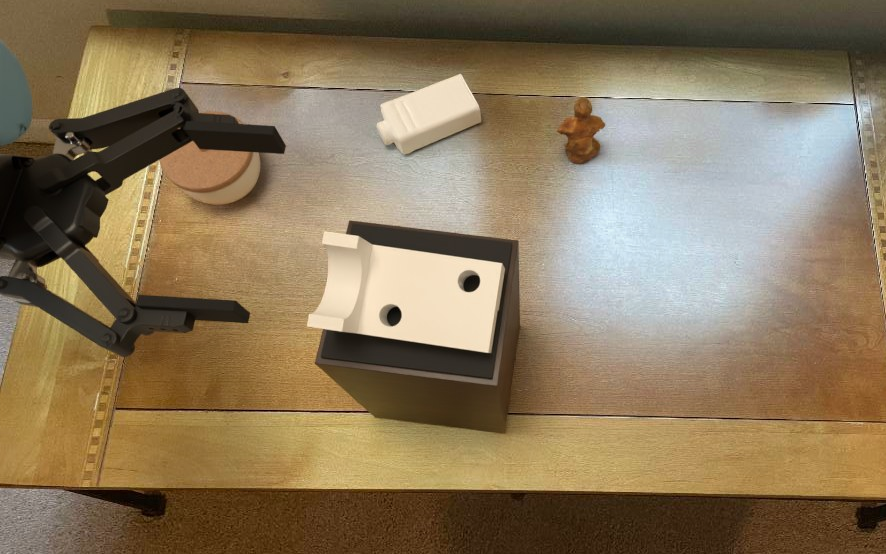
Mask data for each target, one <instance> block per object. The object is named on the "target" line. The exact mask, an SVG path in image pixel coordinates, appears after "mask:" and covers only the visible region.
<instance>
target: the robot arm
mask: <svg viewBox="0 0 886 554" xmlns="http://www.w3.org/2000/svg"><path fill="white" fill-rule="evenodd" d="M33 111H34V105H33V96H32V90H31V87H30V83H29V80H28V78H27V75H26V73H25V71H24V69H23V66H22V65H21V62H20V61H19V60H18V57H17V56H16V55H15V53H14V52H13V51H11V50H10V48H9V47H7V45H6V44H5V42H4V41H3V39H2V38H1V37H0V147H2V146H7V145H11V144H13V143H15V142H17V141H18V140H19V139H20V138H21V137H22V136H23V135H26V133H27V132H28V130H29V129H30V128H31V127H30V126H31V123H32V119H33ZM231 115H232V114H230V115H224V114H222V115H221V114H207V113H200V110H199V108H198V107H197V106H196V104H195V103H194V101H193V100H192V98H190V96H189V95H188V94H187V92H186V91H185V89H183V88H181V87H174V88H172V89H168V90H165V91H162V92H159V93H156V94H152V95H149V96H145V97H143V98H140V99H137V100H134V101H131V102H127V103H125V104H121V105H119V106H116V107H112V108H109V109H106V110H102V111H100V112H96V113H94V114H91V115H87V116H83V117H74V118H55V119H53V120H52V121H51V122H50V123H49V125H48V130H49V131H50V132H51V134H53V135H54V137H55V140H54V144H53V149H52V153H49V154H47V155H44V156H41V157H30V156H29V157H28V156H25V155H18V154H11V153H10V154H8V153H0V260H6V261H9V260H10V261H14V262H13V264H12V267H11V269H10V271H9V273H8V275H1V276H0V295H1V296H3V297H4V298H7V299H9V300H11V301H13V302H15V303H17V304H19V305H22V306H23V305H24V306H29V307H35V308H39V309H40V310H42V311H43V312H45V313H47V314H48V315H50V316H51V317H53V318H55V319H56V320H58V321H59V322H61V323H63V324H64V325H66V326H67V327H69V328H70V329H72V330H74V331H75V332H76V333H78V334H80V335H82V336H83V337H84V338H86V339H88V340H90V341H91V342H93V343H94V344H96V345H98V346H99V347H101V348H102V349H105V350H107V351H109V352H111V353H113V354H115V355H117V356H119V357H121V358H128V357H130V356H131V355H132V354H134V353H135V350H136V345H135V343H136V342H137V341H138V339H139V337H140V336H141V335H142V336H146V337H147V336H151V335H153V334H154V333H155V332H157V333H172V334H173V333H175V334H176V333H177V334H187V333H191V332H193V331H194V328H195V322H196V321H201V322H217V323H219V322H220V323H232V324H233V323H234V324H235V323H236V324H249V323H250V318H251V312H250V311H249V310H248V309H246V308H245V307H244V306H243V305H242V304H241V303H240V302H238V300H234V299H217V298H201V297H200V298H199V297H183V296H166V295H165V296H164V295H151V294H138V295H137V299H136V302H135V300H134V299H133V298H132V297H131V296H130V295H129V293H127V291H126V290H125V289H124V288H123V287H122V286H121V285H120V284H119V283H118V282H117V280H116V279H115V278H114V277H113V276H112V275H111V273H109V271H108V270H107V269H106V268H105V267H104V265H102V264H101V262H100V260H99V259H98V258H97V256H95V254H94V253H93V252H92V251H91V250H90V249H89V248H88V247H87V246H86V245H88V244H89V243H90V242H91V241H92V240H93V239H94V238H96V239H98V236H99V234H100V230H101V218H102V216H103V215H104V213H105V212H106V209H107V208H108V204H109V200H110V199H109V198H107V195H109V194H111V193H112V192H114V191H116V190H117V189H119V188H121V187H122V186H123V184H124V181H125V180H126V179H128V178H130V177H132V176H133V175H135V174H137V173H139V172H141V171H142V170H144V169H146V168H147V167H149V166H151V165H153V164H155V163H156V162H159V160H160V159H162V158H163V157H165V156H167V155H169V154H171V153H172V152H174V151H176V150H178V149H179V148H181V147H183V146H185V145H187V144H188V143H190V142H192V141H194V143H195V144H196V145H197V146H198V148H199V149H207V150H224V151H241V152H258V153H259V154H275V155H276V154H278V155H285V152H286V148H287V144H286V143H285V141H284V139H283V138H282V136H281V134H280V133H279V131H278V129H277V128H276V126H275V125H266V124H265V125H264V124H249V123H243V124H239V123H238V121H237V120H236V118H237V117H236V116H234V115H232V116H231ZM233 116H234V117H233ZM235 117H236V118H235ZM178 128H180V129H178ZM94 150H98V151H94ZM99 150H100V151H99ZM79 155H80V156H79ZM93 172H95V173H96V174H98V175H99V176H100V177H99V178H97V179H94V178H93V177H91V175H90V173H93ZM59 259H62V260H63V262H64V263H65V264H67V266H68V267H69V269H71V271H73V273H74V274H75V275H76V276H77V277H78V278H79V279H80V280H81V282H83V284H84V285H85V286H86V287H87V289H89V291H91V293H92V294H93V295H94V296H95V297H96V298H97V300H99V302H100V303H101V304H102V305H103V306H104V307H105V308H106V310H107V311H108V312H109V313H110V314H111V315H112V316H113V317H114V318H115V320H114V322H113V323H112V325H110V326H108V325H107V324H105V323H103V322H102V321H100V320H99V319H97V318H96V317H94V316H93V315H90V314H89V313H87V312H86V311H84V310H83V309H81V308H80V307H78V306H76V305H74V304H73V303H72V302H70V301H68V300H66V299H65V298H63V297H62V296H60V295H58V294H56V293H55V292H52V291H51V290H49V289H48V285H47V284H46V279H45V278H44V277H43V276H41V275H40V274H38V271H37V270H38V268H42V267H45V266H48V265H49V264H51V263H53V262H55V261H58V260H59Z"/></svg>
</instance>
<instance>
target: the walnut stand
mask: <svg viewBox="0 0 886 554" xmlns="http://www.w3.org/2000/svg"><path fill="white" fill-rule="evenodd" d="M352 224H360V225H369V226H377V227H385V228H394V229H402V230H411V231H419V232H427V233H436V234H444V235H452V236H461V237H469V238H478V239H486V240H494V241H503V242H511V243H512V249H511V256H510V263H509V270H508V276H507V283H506V290H505V297H504V303H503V310H502V317H501V324H500V331H499V337H498V344H497V351H496V358H495V364H494V371H493V378H492V379H485V378H477V377H469V376H461V375H453V374H445V373H437V372H428V371H420V370H412V369H404V368H396V367H388V366H380V365H372V364H364V363H356V362H348V361H340V360H332V359H324V358H321V352H322V348H323V344H324V340H325V336H326V331H327V329H322V332H321V336H320V340H319V344H318V348H317V352H316V357H315V360H314V365H315V366H317V367H318V368H319V369H320V370H321V371H323V372H324V373H325V374H326V375H327V376H328V377H329V378H330V379H331V380H332V381H334V382H335V383H336V384H337V385H338V386H339V387H340V388H341V389H342V390H343V391H345V392H346V393H347V394H348V395H349V396H350V397H352V398H353V399H354V400H355V401H356V402H357V403H358V404H359V405H360V406H362V408H364V409H365V411H367V412H368V413H369V414H370V415H372V416H373V418H376V419H383V420H392V421H399V422H405V423H406V422H407V423H415V424H422V425H423V424H424V425H431V426H439V427H447V428H455V429H463V430H471V431H477V432H478V431H479V432H486V433H495V434H503V435H505V434H506V433H507V425H508V418H509V410H510V404H511V402H510V401H511V395H512V388H513V382H514V381H513V380H514V374H515V367H516V359H517V352H518V345H519V344H518V343H519V336H520V330H521V329H520V328H521V300H520V299H521V298H520V297H521V295H520V294H521V292H520V248H519V247H520V246H519V245H520V244H519V240H517V239H509V238H502V237H492V236H484V235H477V234H469V233H468V234H467V233H460V232H459V233H458V232H451V231H443V230H435V229H426V228H417V227H411V226H410V227H409V226H400V225H392V224H383V223H376V222H375V223H374V222H369V221H368V222H367V221H359V220H358V221H357V220H351V219H349V220H348V223H347V227H346V232H345V234H348V235H350V231H351V227H352Z"/></svg>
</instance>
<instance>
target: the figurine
mask: <svg viewBox="0 0 886 554" xmlns="http://www.w3.org/2000/svg"><path fill="white" fill-rule="evenodd" d="M573 111H574V112H573V113H574V115H573V116H571V117H566V118H564V119H563V122H562V123H561V124H560V125H558V127H557V129H556V132H557V133H558V134H560V135H564V136H565V137H566V138H567V142H566V143H565V144H564V150H565V152H566V156H567V157H568V159H569V161H571V162H572V163H574V164H579V165H580V164H583V163H586V162H588V161H589V160H591V159H592V158H594V157H596V156H597V155H598V154H599V153H600V151H601V143H600V142H599V141H598V140H597V139H596V138H595V137H594V136H595V135H596V134H597V133H598V132H600V130H603V129H604V128H605V127H606V123H605V121H604V120H603V119H602V117H601V116H597V115H594V114H593V115H592V113H593V105H592V103H591V100H590V99H589V98H587V97H586V96H582V97H579V98H578V99H576V100H575V104H574V106H573Z"/></svg>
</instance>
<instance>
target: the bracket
mask: <svg viewBox="0 0 886 554" xmlns="http://www.w3.org/2000/svg"><path fill="white" fill-rule="evenodd" d="M321 245H322V246H323V247H324V248H325V251H326V254H327V269H328V270H327V277H326V278H327V279H326V283H325V287H324V292H323V295H322V298H321V300H320V303H319V304H318V306H317V308H316V309H314V311H313V312H312V313H311V312H310V313H309V314H308V317H307V323H306V327H308V328H315V329H320V330H321V329H322V330H323V329H327V330H334V331H341V332H349V333H357V334H364V335H371V336H378V337H384V338H391V339H398V340H405V341H411V342H418V343H425V344H432V345H439V346H445V347H452V348H459V349H466V350H472V351H479V352H486V353H491V351H492V344H493V338H494V331H495V325H496V318H497V312H498V311H499V305H500V298H501V292H502V285H503V279H504V272H505V268H504V266H503V264H502V263H497V262H490V261H483V260H476V259H469V258H462V257H455V256H448V255H441V254H434V253H427V252H420V251H413V250H406V249H399V248H393V247H386V246H379V245H372V244H371V243H369V242H367V241H366V240H364V239H363V238H361V237H359V236H355V235H348V234H346V233H340V232H333V231H327V230H326V231H325V230H324V231H323V235H322V241H321ZM471 275H477V276H479V277H480V285H479V287H478V288H477V289H476V290H475V291H473V292H465V291H464V288H463V284H464V281H465V279H466V278H467V277H469V276H471ZM396 306H398V307H399V308H400V310H401V313H402V317H401V320H400V322H399V323H398V324H397V325H395V326H391V325H390V324H389V323H388V321H387V314H388V312H389V310H390V309H391V308H393V307H396Z"/></svg>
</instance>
